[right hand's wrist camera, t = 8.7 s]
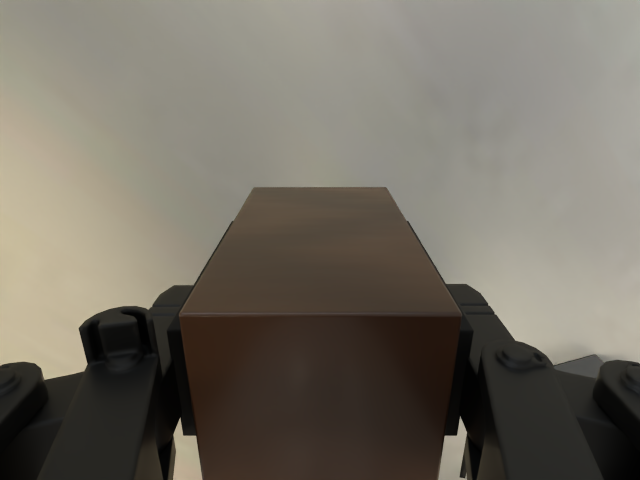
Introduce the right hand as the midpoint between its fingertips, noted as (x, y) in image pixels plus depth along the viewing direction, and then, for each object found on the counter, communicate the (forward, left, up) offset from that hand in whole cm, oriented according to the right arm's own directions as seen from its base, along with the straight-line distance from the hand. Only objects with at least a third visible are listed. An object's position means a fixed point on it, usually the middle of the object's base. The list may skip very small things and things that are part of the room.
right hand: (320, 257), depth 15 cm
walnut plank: (0, -11, 0) cm, 11 cm away
